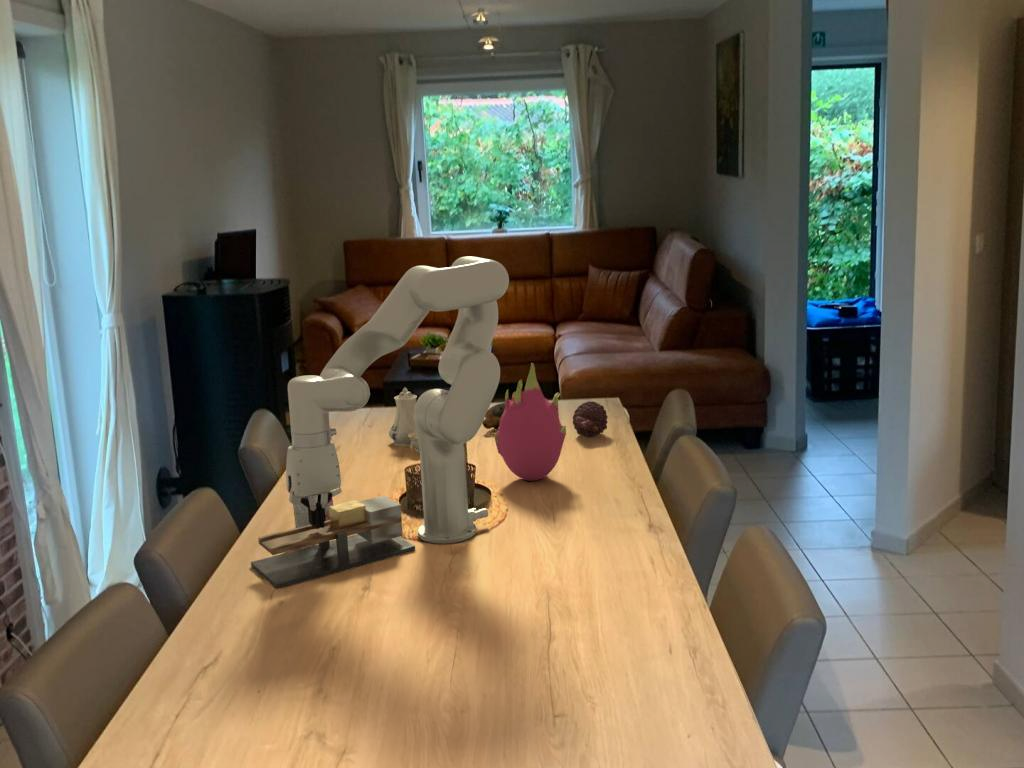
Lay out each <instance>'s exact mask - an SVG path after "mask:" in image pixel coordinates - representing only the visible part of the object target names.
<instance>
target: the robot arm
mask: <svg viewBox="0 0 1024 768" xmlns="http://www.w3.org/2000/svg"><path fill="white" fill-rule="evenodd" d="M509 284H510V277H509V273H508V271H507V269H506V267H505V266H504V265H503V264H502V263H500V262H499V261H497V260H494V259H489V258H483V257H478V256H470V255H469V256H468V255H467V256H461V257H459V258H457V259H455V261H454V262H453V263H452V264H451V265H450V266H449V267H439V268H438V267H435V266H429V265H416V266H413V267H411V268H409V269H408V270H407V271H405V273H404V274H403V276H402V277H401V278H400V280H399V281H398V282H397V283H396V285H395V286H394V288H393V289H392V290H391V292H390V293H389V295H388V296H387V297H386V299H384V301H383V302H382V303H381V305H380V306H379V308H378V309H377V311H376V312H375V313H374V314H373V316H372V317H371V318H370V319H369V320H368V321H367V323H365V324H363V325H362V326H361V327H359V329H358V330H357V331H355V332H354V333H353V334H352V335H351V336H350V337H349V338H347V339H346V340H345V341H344V342H343V343H342V344H341V345H340V347H339V348H338V349H337V350H336V351H335V353H334V354H333V355H332V357H331V358H330V359H329V360H328V362H327V363H326V364H325V366H324V368H323V369H322V371H321V373H320V375H313V374H312V375H310V374H309V375H300V376H295V377H293V378H291V379H290V380H289V381H288V383H287V398H288V408H289V409H288V410H289V419H290V421H289V423H290V434H291V445H289V446H288V447H287V452H286V461H285V462H286V466H285V480H286V484H285V485H286V491H287V493H289V496H288V497H289V498H288V501H289V502H290V503H291V504H292V505H293V504H303V505H305V506H306V507H307V508H308V516H309V523H310V524H311V525H312V526H313V527H314V528H316V529H319V528H320V527H321V528H324V527H325V526H324V522H325V521H326V515H325V508H326V507H327V503H328V502H329V501H330V499H331V498H332V499H333V497H336V496H338V495H340V494H342V488H341V485H342V477H341V476H342V475H341V469H340V461H339V457H338V453H337V449H336V446H335V442H334V441H332V440H333V439H332V437H334V436H337V433H338V432H337V429H336V428H335V427H334V428H331V425H330V413H331V412H334V413H335V412H339V413H342V412H343V413H344V412H345V413H347V412H355V411H358V410H361V409H362V408H363V407H364V406H366V404H367V403H368V401H369V399H370V396H371V392H370V387H369V384H368V383H367V381H366V380H365V379H364V378H363V377H362V375H363V374H364V372H365V371H366V370H367V369H368V368H369V367H370V366H371V365H372V364H373V363H374V362H376V361H377V360H378V359H379V358H381V357H382V356H385V355H388V354H389V353H393V352H395V351H397V350H399V349H401V348H402V347H403V346H406V344H407V343H408V341H409V340H410V338H411V337H412V336H413V334H414V333H415V332H416V330H417V329H418V327H419V326H420V325H421V323H422V322H423V321H424V320H425V317H427V316H428V314H429V313H430V311H431V312H448V311H454V310H458V313H457V317H456V320H455V324H454V326H453V329H452V331H451V333H450V335H449V339H448V341H447V343H446V345H445V348H444V349H443V352H442V354H441V356H440V359H439V362H438V374H439V376H440V378H441V379H442V380H443V381H444V382H446V384H449V385H451V386H450V388H449V390H446V389H442V388H433V389H428V390H426V391H424V392H423V393H422V394H421V395H420V396H419V397H418V399H416V404H415V408H414V421H415V427H416V431H417V436H418V441H419V449H420V453H419V459H420V476H421V477H420V478H421V493H422V506H423V508H422V509H423V520H424V521H423V522H424V523H423V524H421V525H419V527H418V529H417V536H418V538H419V537H420V538H421V539H420V538H419V539H420V540H421V541H424V542H426V543H427V542H428V543H429V544H430V543H431V544H432V543H433V544H446V545H447V544H454V543H459V542H462V541H463V542H464V541H466V540H468V539H471V538H472V537H474V535H476V534H477V525H476V524H475V523H474V522H477V520H478V519H485V518H488V516H489V511H488V509H487V508H485V507H484V508H481V509H477V508H476V507H473V508H469V505H468V503H469V501H468V487H467V470H466V469H467V467H466V464H467V463H466V450H465V445H464V444H466V443H468V442H469V441H471V440H472V439H473V438H474V437H476V435H477V433H478V432H479V430H480V428H481V426H482V425H483V424H482V422H483V420H485V419H486V418H485V415H486V413H487V411H488V410H489V409H490V407H491V403H492V401H493V398H494V397H495V394H496V392H497V390H498V386H499V383H500V378H501V366H500V363H499V361H498V358H497V357H496V356H495V354H494V353H493V352H492V351H490V348H491V345H492V342H493V339H494V337H495V333H496V332H497V327H498V323H499V307H498V301H497V300H499V299H500V298H502V296H504V295H505V294H506V292H507V290H508V288H509ZM314 495H317V498H316V504H315V500H314Z"/></svg>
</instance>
